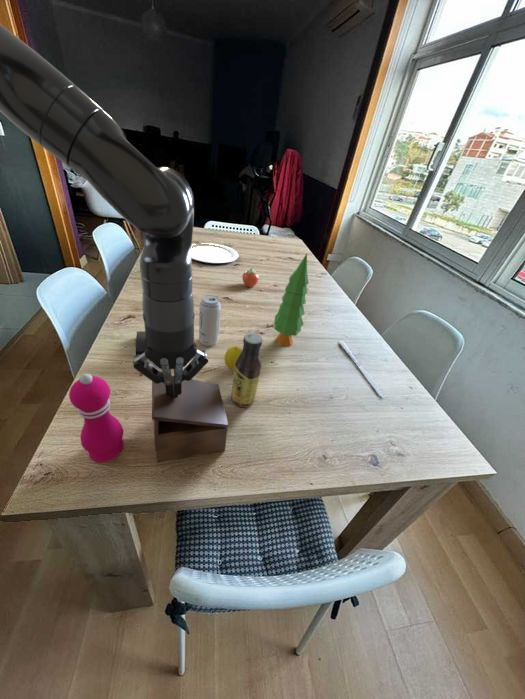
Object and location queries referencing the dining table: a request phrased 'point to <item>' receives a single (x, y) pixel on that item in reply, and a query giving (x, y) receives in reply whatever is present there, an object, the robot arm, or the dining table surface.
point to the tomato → (250, 278)
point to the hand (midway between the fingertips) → (173, 394)
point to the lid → (190, 404)
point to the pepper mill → (97, 418)
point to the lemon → (232, 356)
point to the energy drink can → (209, 320)
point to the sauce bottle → (247, 371)
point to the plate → (213, 254)
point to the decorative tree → (292, 305)
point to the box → (186, 440)
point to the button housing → (140, 343)
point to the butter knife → (362, 369)
